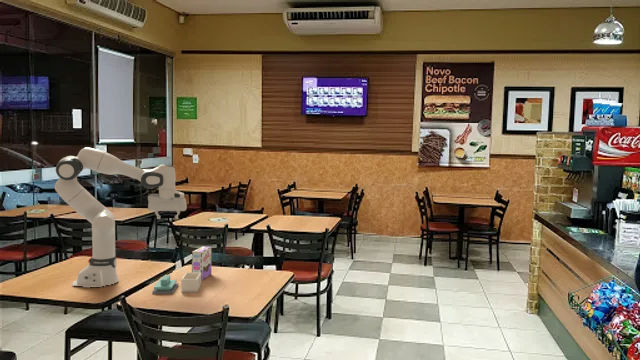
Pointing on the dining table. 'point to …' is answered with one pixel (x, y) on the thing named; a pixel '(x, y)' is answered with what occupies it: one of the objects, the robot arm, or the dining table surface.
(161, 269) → the dining table surface
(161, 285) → the lid
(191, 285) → the tub
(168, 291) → the mat
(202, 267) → the candy box
